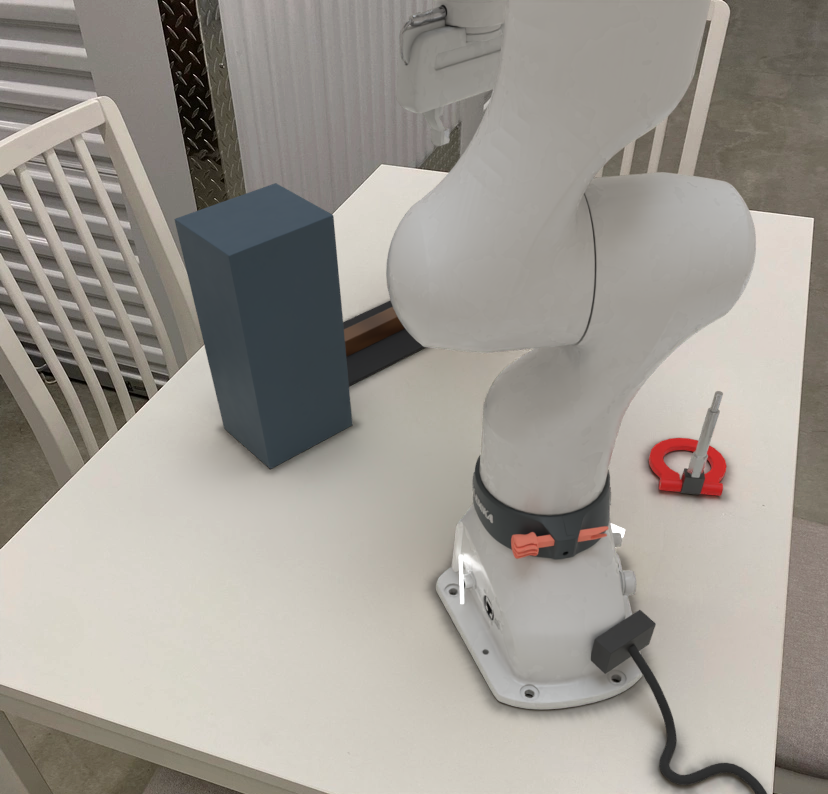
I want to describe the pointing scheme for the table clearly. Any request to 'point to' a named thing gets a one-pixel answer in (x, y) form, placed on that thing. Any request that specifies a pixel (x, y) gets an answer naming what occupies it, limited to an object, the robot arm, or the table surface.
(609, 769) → the table surface
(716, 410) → the tow hook
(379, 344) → the mat
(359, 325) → the hanger bar
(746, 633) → the table surface
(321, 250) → the stand
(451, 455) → the table surface
